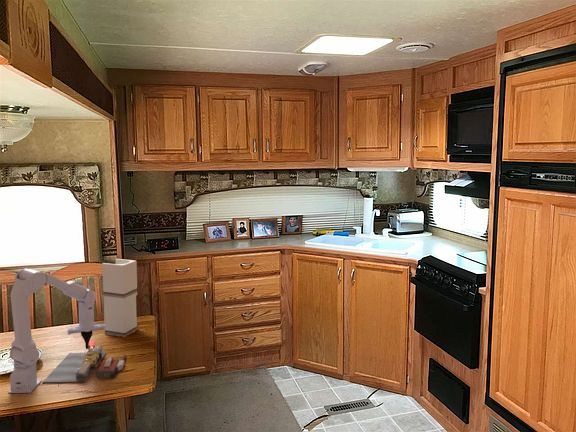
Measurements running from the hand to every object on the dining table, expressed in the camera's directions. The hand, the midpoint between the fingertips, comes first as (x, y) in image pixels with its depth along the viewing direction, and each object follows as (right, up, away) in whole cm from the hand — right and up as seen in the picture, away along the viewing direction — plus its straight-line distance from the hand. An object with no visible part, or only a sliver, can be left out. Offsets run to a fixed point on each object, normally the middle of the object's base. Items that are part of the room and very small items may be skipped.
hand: (87, 348), depth 200 cm
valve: (+4, -7, -5) cm, 9 cm away
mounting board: (-2, -7, -5) cm, 9 cm away
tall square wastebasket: (+3, -2, +34) cm, 34 cm away
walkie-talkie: (+12, -7, -5) cm, 15 cm away
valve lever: (+2, 0, -1) cm, 3 cm away
